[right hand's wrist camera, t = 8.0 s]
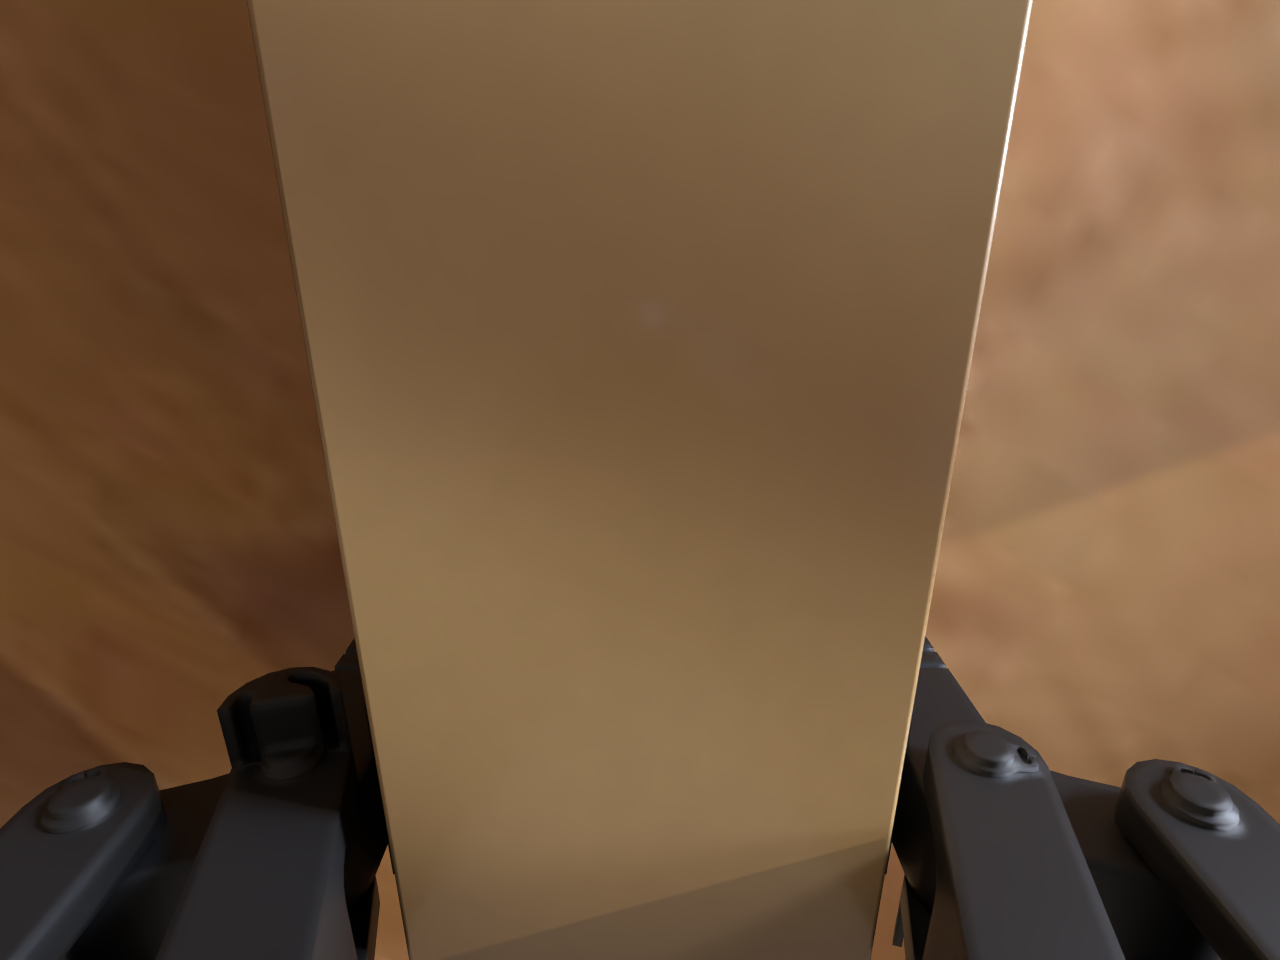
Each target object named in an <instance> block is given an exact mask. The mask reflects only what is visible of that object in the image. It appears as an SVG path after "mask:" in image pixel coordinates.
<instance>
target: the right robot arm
mask: <svg viewBox="0 0 1280 960" xmlns="http://www.w3.org/2000/svg"><path fill="white" fill-rule="evenodd" d="M217 713H218V716H219V720H220V724H221V728H222V732H223V735H224V739H225V743H226V747H227V751H228V754H229V758H230V762H231V766H232V769H231V772H230V773H229V774H226V775H223V776H219V777H216V778H213V779H208V780H204V781H200V782H195V783H191V784H187V785H182V786H178V787H173V788H169V789H165V790H160V791H159V789H158V786H157V783H156V780H155V776H154V774H153V773H152V772H151V771H150V770H149V769H147V768H146V767H145V766H144V765H140V764H133V763H127V762H123V763H115V764H108V765H101V766H98V767H95V768H92V769H88V770H86V771H82V772H80V773H77V774H74V775H72V776H70V777H68V778H66V779H64V780H62V781H60V782H58V783H57V784H55V785H53V786H51V787H49V788H47V789H45V790H44V791H43V792H42V793H40V794H39V795H38V796H36V797H35V798H34V799H33V800H31V801H30V802H29V803H27V804H26V805H25V806H24V807H22V808H21V809H20V810H19V811H18V812H17V813H16V814H15V815H14V816H13V817H12V818H11V819H10V820H9V821H8V822H7V823H6V824H5V825H4V826H3V827H2V828H1V829H0V960H374V956H375V946H376V936H377V927H378V917H379V907H380V900H379V893H378V886H377V881H376V872H377V870H378V867H379V865H380V862H381V860H382V857H383V855H384V853H385V850H386V848H387V845H388V846H389V852H390V858H391V864H392V870H393V874H395V872H394V866H393V861H392V855H391V849H390V843H389V837H388V831H387V825H386V819H385V813H384V807H383V802H382V796H381V790H380V784H379V778H378V772H377V766H376V760H375V754H374V748H373V742H372V737H371V731H370V725H369V719H368V713H367V707H366V701H365V695H364V689H363V683H362V678H361V672H360V666H359V660H358V654H357V648H356V642H355V638H354V640H353V641H352V643H351V644H350V645H349V647H348V648H347V650H346V654H343V656H342V657H341V658H340V660H339V661H338V663H337V664H336V666H335V670H334V671H332V672H330V671H327V670H323V669H319V668H315V667H298V668H289V669H285V670H280V671H276V672H272V673H268V674H266V675H264V676H262V677H259V678H257V679H255V680H252V681H250V682H248V683H246V684H245V685H243V686H242V687H240V688H239V689H238V690H236V691H235V692H233V693H232V694H230V695H229V696H228V697H227V698H226V700H225V701H224V702H223V703H222V705H221V706H220V707H219V709H218V710H217ZM891 843H893V846H894V848H895V850H896V853H897V855H898V858H899V860H900V863H901V865H902V868H903V870H904V872H905V875H904V881H903V886H902V892H901V897H900V902H899V908H898V913H897V919H896V924H895V930H894V937H893V944H892V945H895V946H899V947H902V942H903V937H904V945H905V954H906V960H1280V825H1279V824H1278V823H1277V822H1276V821H1275V820H1274V819H1273V818H1272V817H1271V816H1270V815H1269V814H1268V813H1267V812H1266V811H1265V810H1264V809H1263V808H1262V807H1260V806H1259V805H1258V804H1257V803H1256V802H1255V801H1253V800H1252V799H1251V798H1249V797H1248V796H1247V795H1246V794H1244V793H1243V792H1242V791H1240V790H1239V789H1238V788H1237V787H1235V786H1234V785H1232V784H1230V783H1228V782H1226V781H1224V780H1222V779H1220V778H1218V777H1216V776H1215V775H1213V774H1211V773H1209V772H1207V771H1204V770H1201V769H1198V768H1195V767H1192V766H1189V765H1186V764H1183V763H1180V762H1173V761H1165V760H1158V759H1154V760H1147V761H1140V762H1136V763H1135V764H1134V765H1133V766H1132V767H1131V768H1129V769H1128V770H1127V771H1126V774H1125V778H1124V781H1123V784H1122V787H1121V788H1119V787H1115V786H1111V785H1106V784H1102V783H1097V782H1093V781H1088V780H1084V779H1080V778H1075V777H1071V776H1067V775H1063V774H1060V773H1057V772H1053V771H1050V770H1049V768H1048V766H1047V765H1046V763H1045V762H1044V760H1043V759H1042V757H1041V756H1040V754H1039V753H1038V751H1036V750H1035V749H1034V748H1033V747H1031V746H1030V745H1029V744H1028V743H1027V742H1025V741H1024V740H1023V739H1022V738H1020V737H1018V736H1016V735H1014V734H1012V733H1010V732H1008V731H1006V730H1004V729H1002V728H1000V727H998V726H994V725H990V724H987V723H985V721H984V720H983V718H982V717H981V715H980V714H979V713H978V711H977V710H976V708H975V707H974V705H973V704H972V702H971V701H970V700H969V698H968V697H967V695H966V694H965V692H964V691H963V690H962V688H961V687H960V685H959V684H958V682H957V681H956V679H955V678H954V677H953V675H952V674H951V672H950V671H949V669H946V668H945V664H944V662H943V661H942V659H941V658H940V656H939V655H938V654H937V652H934V648H933V646H932V645H931V643H930V642H929V641H928V639H927V638H926V636H925V640H924V645H923V651H922V657H921V663H920V669H919V675H918V681H917V687H916V693H915V699H914V705H913V710H912V716H911V722H910V728H909V734H908V740H907V746H906V752H905V758H904V764H903V769H902V775H901V781H900V787H899V793H898V799H897V805H896V811H895V817H894V823H893V829H892V834H891V840H890V846H889V852H888V858H887V864H886V870H885V874H886V873H887V867H888V861H889V855H890V849H891Z"/></svg>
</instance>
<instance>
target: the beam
mask: <svg viewBox="0 0 1280 960" xmlns="http://www.w3.org/2000/svg"><path fill="white" fill-rule="evenodd" d="M1032 2H1033V0H247V5H248V11H249V17H250V23H251V28H252V34H253V40H254V46H255V52H256V58H257V64H258V70H259V76H260V82H261V87H262V93H263V99H264V105H265V111H266V117H267V123H268V129H269V135H270V141H271V146H272V152H273V158H274V164H275V170H276V176H277V182H278V188H279V194H280V200H281V205H282V211H283V217H284V223H285V229H286V235H287V241H288V247H289V253H290V259H291V265H292V270H293V276H294V282H295V288H296V294H297V300H298V306H299V312H300V318H301V324H302V329H303V335H304V341H305V347H306V353H307V359H308V365H309V371H310V377H311V383H312V388H313V394H314V400H315V406H316V412H317V418H318V424H319V430H320V436H321V442H322V447H323V453H324V459H325V465H326V471H327V477H328V483H329V489H330V495H331V501H332V506H333V512H334V518H335V524H336V530H337V536H338V542H339V548H340V554H341V560H342V565H343V571H344V577H345V583H346V589H347V595H348V601H349V607H350V613H351V619H352V624H353V630H354V636H355V642H356V648H357V654H358V660H359V666H360V672H361V678H362V683H363V689H364V695H365V701H366V707H367V713H368V719H369V725H370V731H371V737H372V742H373V748H374V754H375V760H376V766H377V772H378V778H379V784H380V790H381V796H382V802H383V807H384V813H385V819H386V825H387V831H388V837H389V843H390V849H391V855H392V861H393V866H394V872H395V878H396V884H397V890H398V896H399V902H400V908H401V914H402V920H403V925H404V931H405V937H406V943H407V949H408V955H409V960H870V958H871V953H872V947H873V941H874V935H875V929H876V923H877V917H878V911H879V905H880V899H881V894H882V888H883V882H884V876H885V870H886V864H887V858H888V852H889V846H890V840H891V834H892V829H893V823H894V817H895V811H896V805H897V799H898V793H899V787H900V781H901V775H902V769H903V764H904V758H905V752H906V746H907V740H908V734H909V728H910V722H911V716H912V710H913V705H914V699H915V693H916V687H917V681H918V675H919V669H920V663H921V657H922V651H923V645H924V640H925V634H926V628H927V622H928V616H929V610H930V604H931V598H932V592H933V586H934V581H935V575H936V569H937V563H938V557H939V551H940V545H941V539H942V533H943V527H944V521H945V516H946V510H947V504H948V498H949V492H950V486H951V480H952V474H953V468H954V462H955V457H956V451H957V445H958V439H959V433H960V427H961V421H962V415H963V409H964V403H965V397H966V392H967V386H968V380H969V374H970V368H971V362H972V356H973V350H974V344H975V338H976V333H977V327H978V321H979V315H980V309H981V303H982V297H983V291H984V285H985V279H986V273H987V268H988V262H989V256H990V250H991V244H992V238H993V232H994V226H995V220H996V214H997V209H998V203H999V197H1000V191H1001V185H1002V179H1003V173H1004V167H1005V161H1006V155H1007V149H1008V144H1009V138H1010V132H1011V126H1012V120H1013V114H1014V108H1015V102H1016V96H1017V90H1018V85H1019V79H1020V73H1021V67H1022V61H1023V55H1024V49H1025V43H1026V37H1027V31H1028V25H1029V20H1030V14H1031V8H1032Z"/></svg>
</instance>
